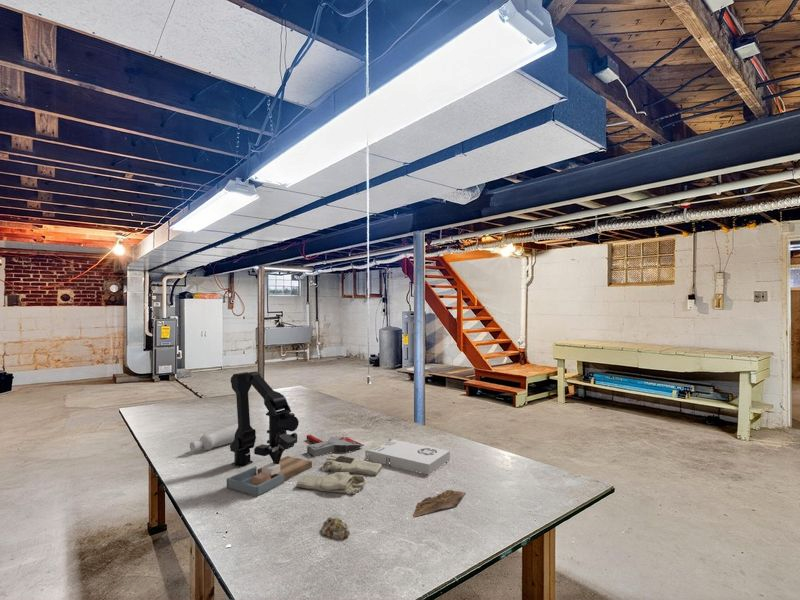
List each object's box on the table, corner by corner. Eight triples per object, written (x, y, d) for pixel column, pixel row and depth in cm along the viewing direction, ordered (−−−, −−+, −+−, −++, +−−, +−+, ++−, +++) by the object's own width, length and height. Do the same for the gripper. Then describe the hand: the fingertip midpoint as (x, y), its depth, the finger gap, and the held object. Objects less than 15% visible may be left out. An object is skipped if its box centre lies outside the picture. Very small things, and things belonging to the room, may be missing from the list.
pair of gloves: (332, 461, 181) (332, 449, 182) (385, 469, 172) (385, 456, 172) (292, 489, 153) (292, 475, 153) (352, 500, 144) (352, 485, 144)
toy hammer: (332, 427, 221) (363, 441, 197) (332, 434, 221) (363, 449, 197) (291, 436, 206) (319, 452, 182) (291, 444, 206) (319, 460, 182)
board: (257, 475, 166) (257, 469, 166) (287, 461, 181) (287, 455, 181) (282, 482, 159) (282, 475, 159) (311, 467, 174) (311, 461, 174)
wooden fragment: (453, 488, 153) (453, 485, 153) (476, 499, 144) (476, 496, 144) (400, 510, 137) (400, 506, 137) (422, 523, 128) (422, 520, 128)
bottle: (239, 429, 219) (184, 447, 194) (245, 416, 216) (190, 433, 191) (248, 441, 215) (194, 460, 190) (254, 428, 212) (200, 446, 187)
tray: (226, 488, 154) (226, 478, 154) (255, 475, 166) (255, 466, 166) (256, 497, 146) (256, 487, 146) (284, 482, 158) (284, 473, 158)
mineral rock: (313, 523, 124) (335, 507, 129) (316, 535, 125) (337, 519, 130) (333, 539, 116) (355, 521, 121) (336, 551, 117) (358, 534, 122)
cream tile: (261, 473, 161) (261, 467, 161) (270, 469, 166) (270, 462, 166) (271, 475, 159) (271, 469, 159) (280, 471, 164) (280, 464, 164)
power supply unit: (389, 448, 199) (389, 438, 199) (449, 462, 180) (449, 450, 181) (365, 460, 183) (365, 449, 183) (429, 477, 165) (429, 464, 165)
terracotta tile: (251, 483, 157) (251, 476, 157) (261, 478, 161) (261, 472, 161) (261, 485, 155) (261, 479, 155) (271, 480, 159) (271, 474, 159)
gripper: (274, 436, 154) (274, 478, 153) (307, 423, 170) (307, 461, 170) (253, 432, 159) (253, 472, 159) (287, 420, 176) (287, 457, 175)
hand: (276, 465), depth 165 cm, fingers closed
